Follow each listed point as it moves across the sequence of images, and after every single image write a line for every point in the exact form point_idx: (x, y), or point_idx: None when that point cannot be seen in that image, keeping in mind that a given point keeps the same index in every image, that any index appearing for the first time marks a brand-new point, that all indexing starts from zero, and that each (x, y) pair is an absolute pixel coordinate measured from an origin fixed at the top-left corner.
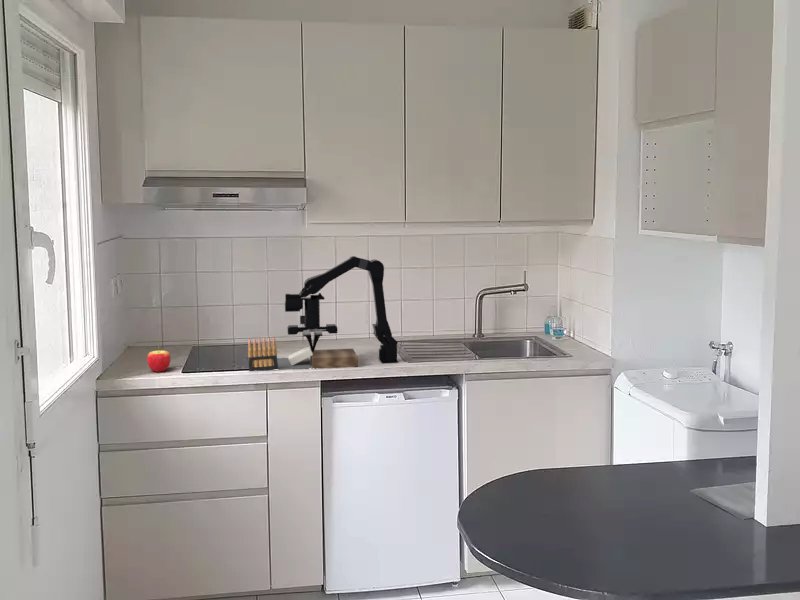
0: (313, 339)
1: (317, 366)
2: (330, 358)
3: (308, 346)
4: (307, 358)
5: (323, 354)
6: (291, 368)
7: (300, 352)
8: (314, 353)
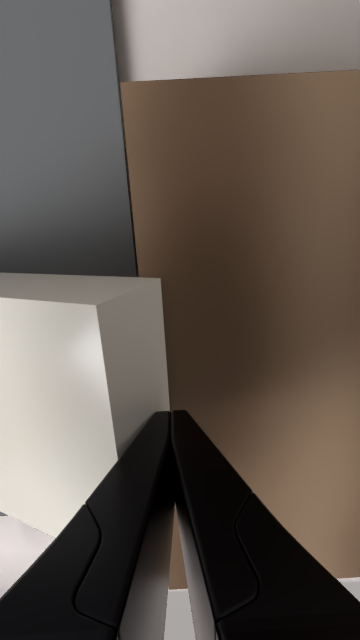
0: (204, 612)
1: None
2: (341, 567)
3: (89, 346)
4: (103, 79)
5: (302, 444)
6: (6, 515)
7: (1, 450)
8: (195, 377)
